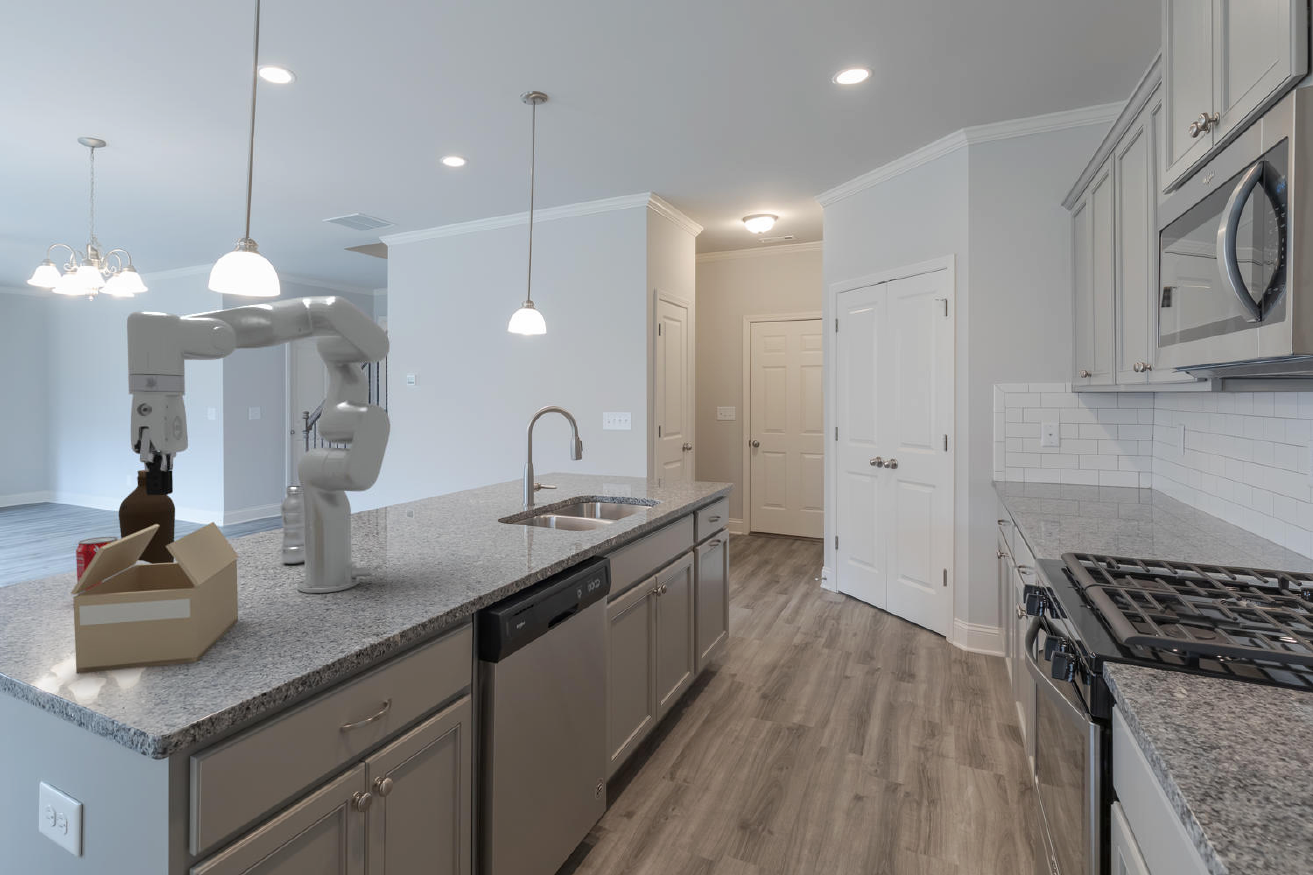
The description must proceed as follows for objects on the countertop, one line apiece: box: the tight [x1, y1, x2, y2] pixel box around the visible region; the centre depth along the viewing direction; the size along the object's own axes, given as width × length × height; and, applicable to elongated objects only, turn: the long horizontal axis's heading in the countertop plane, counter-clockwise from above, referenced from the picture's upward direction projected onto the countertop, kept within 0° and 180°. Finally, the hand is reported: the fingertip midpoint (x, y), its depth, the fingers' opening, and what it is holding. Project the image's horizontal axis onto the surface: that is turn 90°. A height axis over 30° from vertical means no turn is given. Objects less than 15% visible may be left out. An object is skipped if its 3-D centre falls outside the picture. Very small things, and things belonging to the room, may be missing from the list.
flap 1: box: [70, 524, 160, 596], centre depth 108 cm, size 8×19×1 cm
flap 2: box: [166, 521, 239, 587], centre depth 111 cm, size 8×19×1 cm
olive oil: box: [118, 469, 176, 564], centre depth 154 cm, size 11×11×25 cm
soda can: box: [75, 535, 119, 595], centre depth 133 cm, size 7×7×13 cm
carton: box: [72, 558, 239, 674], centre depth 110 cm, size 16×20×12 cm
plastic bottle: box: [280, 485, 305, 565], centre depth 165 cm, size 6×7×20 cm
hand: (159, 494), depth 109 cm, fingers closed
